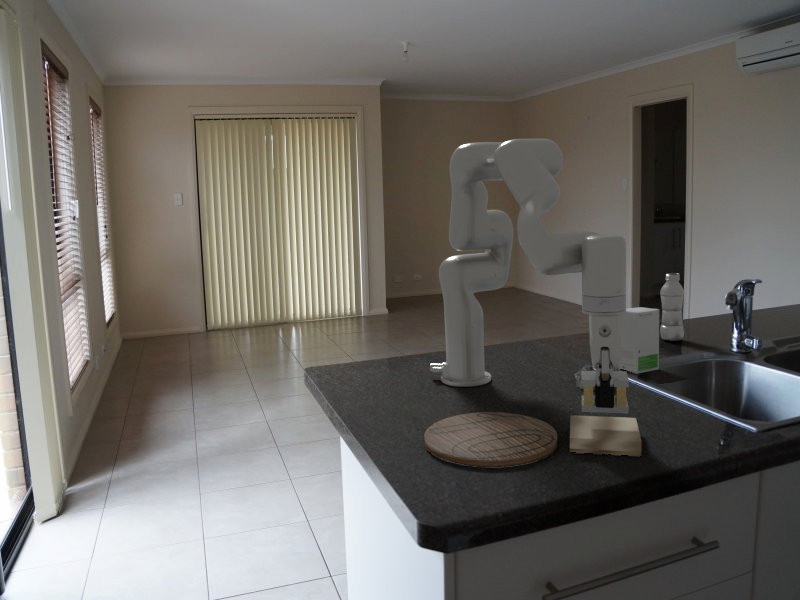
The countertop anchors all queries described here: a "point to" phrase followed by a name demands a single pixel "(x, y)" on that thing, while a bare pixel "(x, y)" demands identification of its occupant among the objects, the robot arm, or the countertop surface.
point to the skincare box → (640, 340)
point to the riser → (605, 435)
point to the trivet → (491, 439)
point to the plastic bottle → (672, 308)
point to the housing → (619, 399)
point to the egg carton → (578, 375)
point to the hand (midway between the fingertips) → (604, 400)
